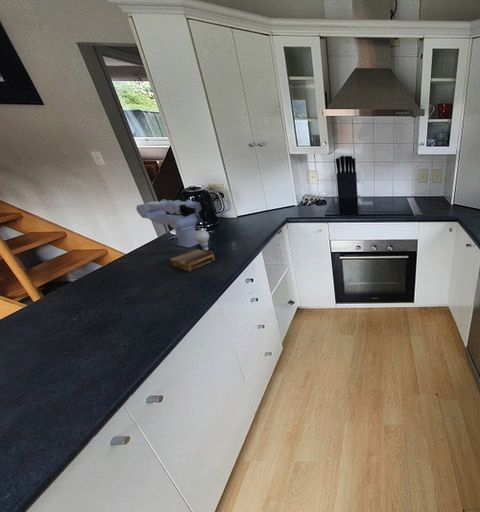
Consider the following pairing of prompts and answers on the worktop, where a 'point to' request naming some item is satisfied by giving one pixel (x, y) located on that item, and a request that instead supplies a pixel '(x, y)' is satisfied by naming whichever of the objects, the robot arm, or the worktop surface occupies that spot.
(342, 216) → the worktop surface
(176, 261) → the wooden pallet
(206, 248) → the lightbulb
